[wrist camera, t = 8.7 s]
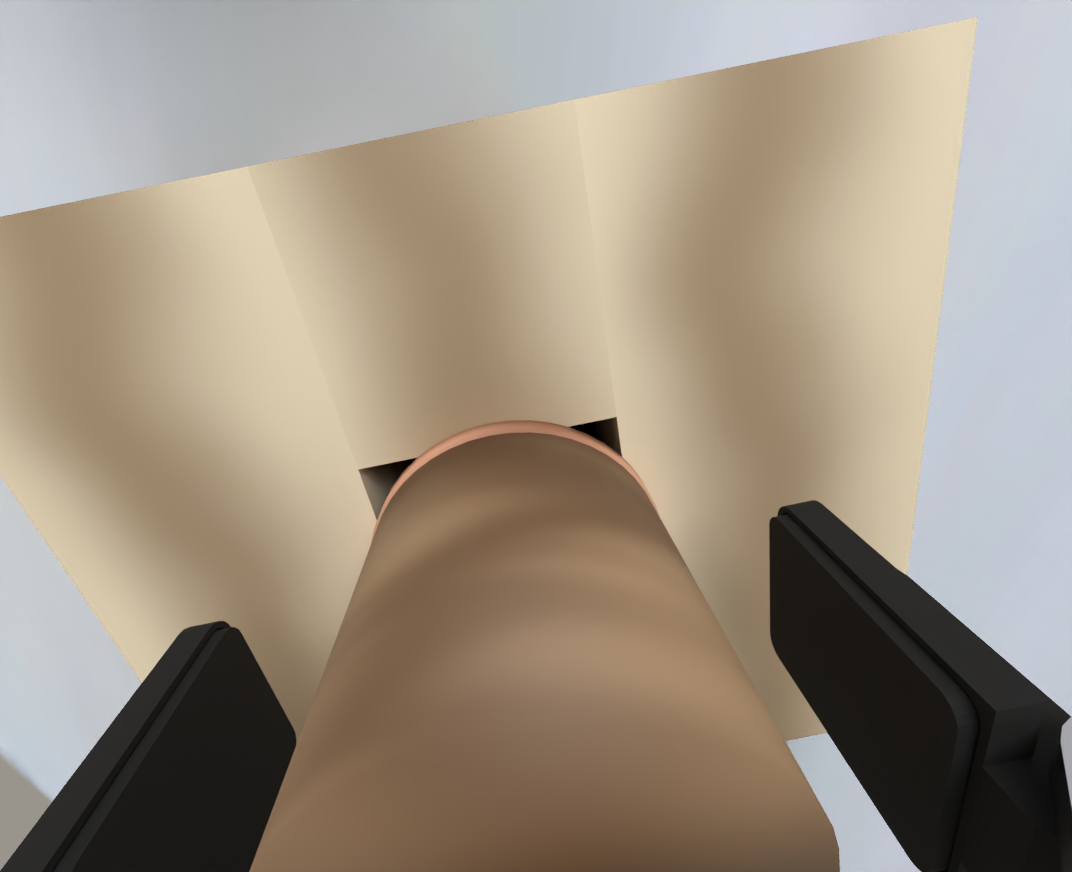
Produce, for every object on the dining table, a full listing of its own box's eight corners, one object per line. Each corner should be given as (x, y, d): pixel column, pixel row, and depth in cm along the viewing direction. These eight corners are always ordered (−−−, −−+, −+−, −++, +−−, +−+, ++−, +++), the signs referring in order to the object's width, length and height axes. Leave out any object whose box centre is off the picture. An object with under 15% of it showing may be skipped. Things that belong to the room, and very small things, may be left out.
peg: (605, 350, 13) (864, 648, 4) (632, 544, 16) (831, 1008, 6) (372, 397, 13) (101, 804, 4) (434, 584, 16) (353, 1106, 6)
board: (838, 74, 11) (977, 17, 8) (816, 628, 18) (889, 719, 14) (30, 239, 11) (-155, 248, 8) (298, 733, 18) (254, 848, 14)
